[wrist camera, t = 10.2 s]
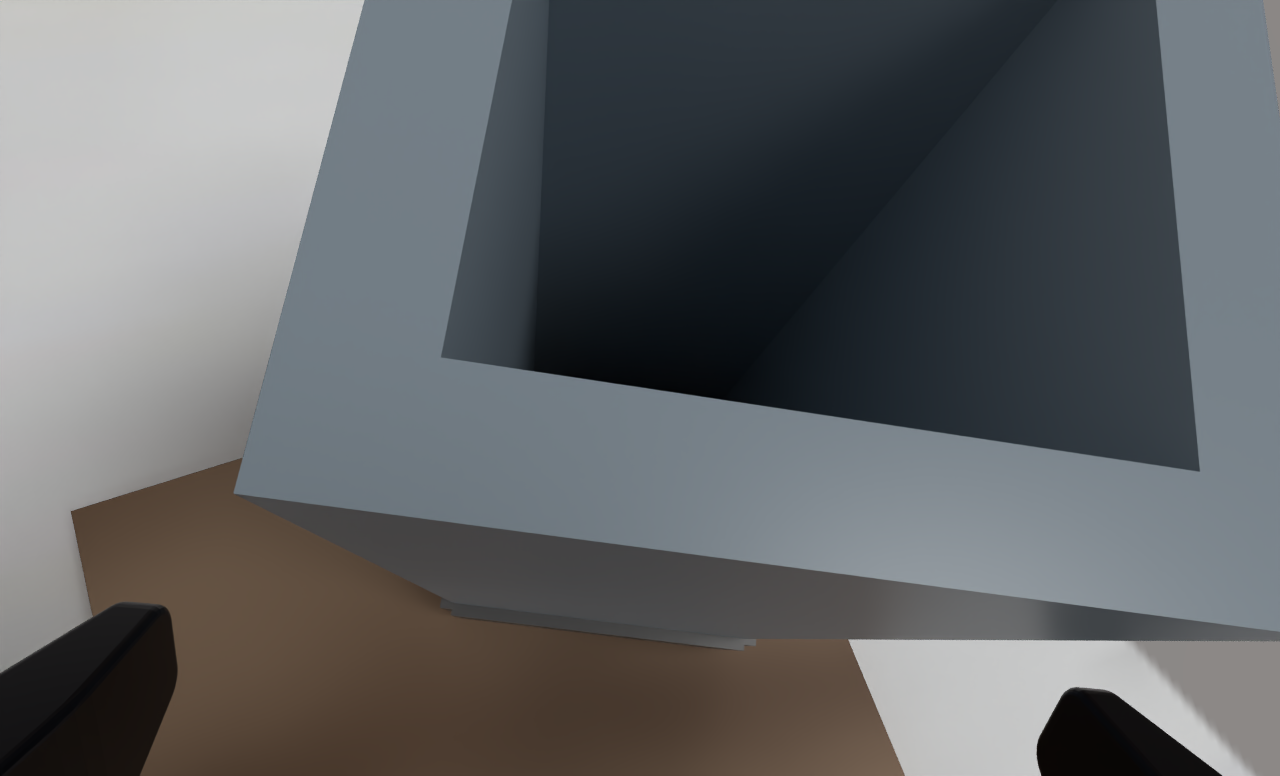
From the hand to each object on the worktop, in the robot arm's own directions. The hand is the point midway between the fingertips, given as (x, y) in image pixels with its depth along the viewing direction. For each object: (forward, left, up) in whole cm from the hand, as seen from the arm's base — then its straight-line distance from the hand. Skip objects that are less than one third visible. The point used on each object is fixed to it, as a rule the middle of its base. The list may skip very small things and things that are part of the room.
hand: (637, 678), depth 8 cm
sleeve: (+3, -1, -8) cm, 8 cm away
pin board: (-1, +1, -9) cm, 9 cm away
